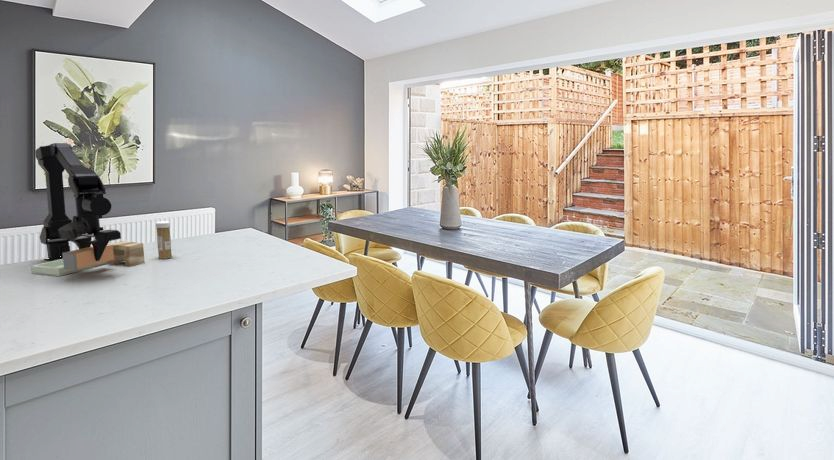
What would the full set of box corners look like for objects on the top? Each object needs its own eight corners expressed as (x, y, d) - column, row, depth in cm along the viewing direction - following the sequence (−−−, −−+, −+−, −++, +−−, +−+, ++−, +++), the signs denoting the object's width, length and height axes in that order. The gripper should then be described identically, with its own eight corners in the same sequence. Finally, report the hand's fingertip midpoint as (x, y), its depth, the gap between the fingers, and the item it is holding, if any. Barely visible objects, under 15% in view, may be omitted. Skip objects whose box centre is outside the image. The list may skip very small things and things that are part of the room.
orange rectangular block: (64, 268, 142) (62, 252, 141) (104, 258, 155) (102, 244, 154) (74, 269, 141) (72, 254, 140) (114, 259, 154) (112, 244, 153)
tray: (31, 273, 146) (30, 265, 146) (93, 258, 167) (92, 251, 167) (59, 276, 144) (58, 269, 144) (118, 260, 165) (117, 254, 164)
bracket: (108, 264, 160) (107, 244, 159) (123, 260, 166) (121, 241, 164) (130, 266, 158) (128, 246, 157) (144, 262, 164) (143, 243, 162)
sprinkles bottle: (172, 258, 170) (170, 222, 168) (158, 259, 168) (156, 223, 165) (171, 255, 174) (169, 220, 172) (157, 257, 172) (154, 221, 169)
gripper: (38, 213, 140) (44, 263, 143) (88, 217, 136) (93, 268, 139) (73, 209, 151) (77, 255, 153) (120, 212, 147) (124, 260, 149)
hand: (92, 260), depth 148 cm, fingers closed on orange rectangular block, 4 cm apart
